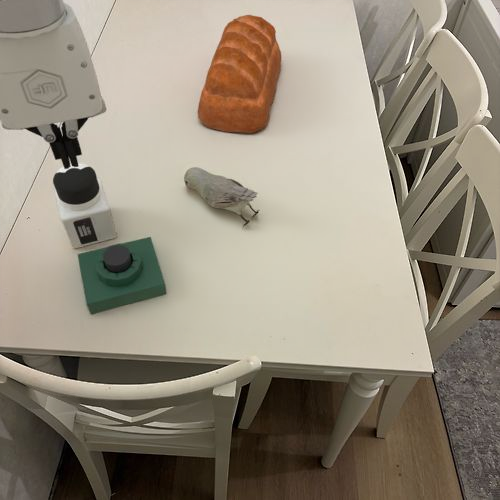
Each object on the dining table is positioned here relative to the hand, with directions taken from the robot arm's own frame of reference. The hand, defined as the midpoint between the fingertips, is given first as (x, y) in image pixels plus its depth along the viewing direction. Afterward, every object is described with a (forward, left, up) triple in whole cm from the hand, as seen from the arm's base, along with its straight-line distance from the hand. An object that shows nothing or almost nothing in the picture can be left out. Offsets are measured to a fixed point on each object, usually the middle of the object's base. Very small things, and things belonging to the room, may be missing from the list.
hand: (70, 160), depth 57 cm
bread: (+38, +45, -27) cm, 65 cm away
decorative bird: (+22, +12, -27) cm, 37 cm away
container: (-1, +14, -27) cm, 31 cm away
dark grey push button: (+2, +1, -23) cm, 23 cm away
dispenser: (+2, +1, -27) cm, 27 cm away
